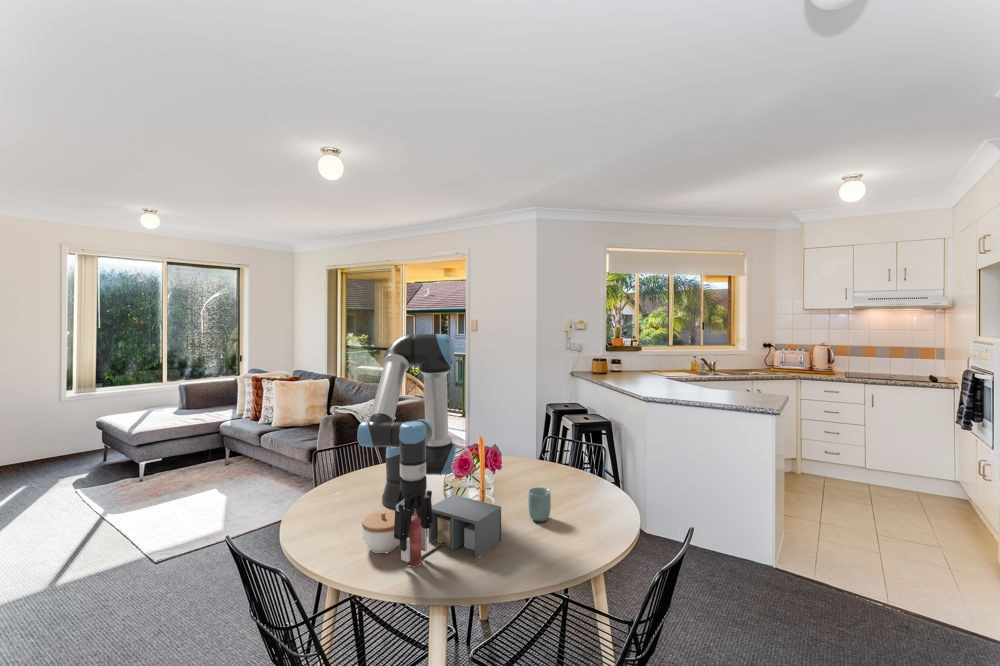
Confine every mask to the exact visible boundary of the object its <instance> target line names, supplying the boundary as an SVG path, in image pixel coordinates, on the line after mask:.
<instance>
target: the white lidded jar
mask: <svg viewBox="0 0 1000 666" xmlns="http://www.w3.org/2000/svg"><path fill="white" fill-rule="evenodd" d="M394 523H395V511H393V510H392V511H390V510H386V511H377V512H373V513H371V514H369V515H367V516H365V517H363V520H362V522H361V526H362V536H363V540H364V543H365V545H366V546H367V548H368V549H370V550H371V552H372V551H374V552H376V553H386V552H390V551H392V550H393V551H394V550H396V548H397V547H398V545H400V540H398V539H395V538H394ZM395 547H396V548H395ZM393 551H392V552H393ZM374 552H373V553H374ZM376 553H375V554H376ZM390 553H391V552H390ZM386 554H387V553H386Z"/></svg>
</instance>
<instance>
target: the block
mask: <svg viewBox="0 0 1000 666" xmlns="http://www.w3.org/2000/svg"><path fill="white" fill-rule="evenodd" d="M463 546H464V548H466V549H469V550H472V551H475V524H470V525H468V526H467V527H465V528H464V545H463Z"/></svg>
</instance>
